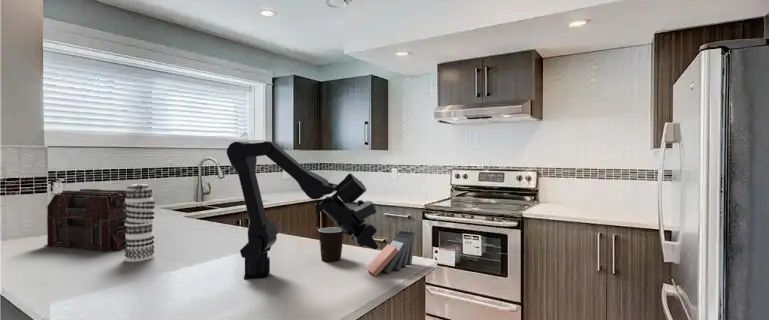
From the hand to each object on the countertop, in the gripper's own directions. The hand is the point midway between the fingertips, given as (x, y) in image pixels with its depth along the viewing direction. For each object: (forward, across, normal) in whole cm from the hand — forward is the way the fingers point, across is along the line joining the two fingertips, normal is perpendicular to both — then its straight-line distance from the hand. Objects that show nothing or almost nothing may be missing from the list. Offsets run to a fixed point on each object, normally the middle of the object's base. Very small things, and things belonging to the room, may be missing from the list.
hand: (376, 248), depth 114 cm
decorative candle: (-44, +43, +55) cm, 82 cm away
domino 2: (+6, +1, +4) cm, 7 cm away
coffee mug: (0, +21, +12) cm, 24 cm away
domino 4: (+9, +2, +1) cm, 9 cm away
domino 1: (+4, 0, +6) cm, 7 cm away
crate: (-58, +72, +69) cm, 115 cm away
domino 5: (+14, +7, -3) cm, 16 cm away
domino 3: (+11, +4, -1) cm, 12 cm away
